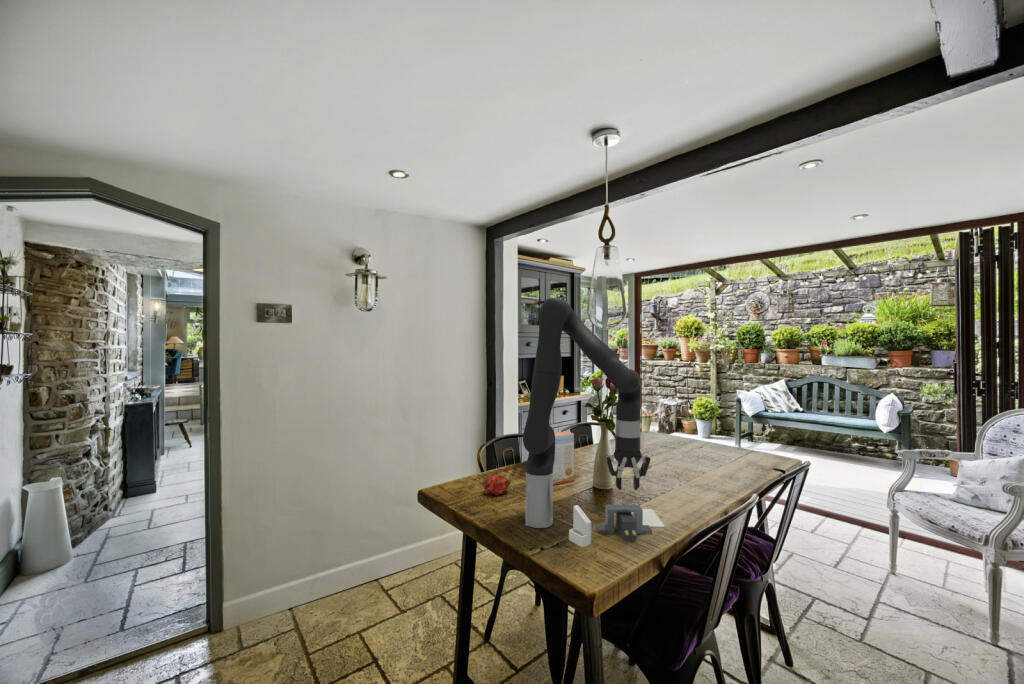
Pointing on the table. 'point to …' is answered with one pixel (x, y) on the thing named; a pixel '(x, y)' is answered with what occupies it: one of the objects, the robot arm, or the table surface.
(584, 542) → the white wedge bracket
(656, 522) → the pad
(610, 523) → the grey arch bracket
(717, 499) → the table surface
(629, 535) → the plug
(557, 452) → the cracker box
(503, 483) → the dragon fruit
